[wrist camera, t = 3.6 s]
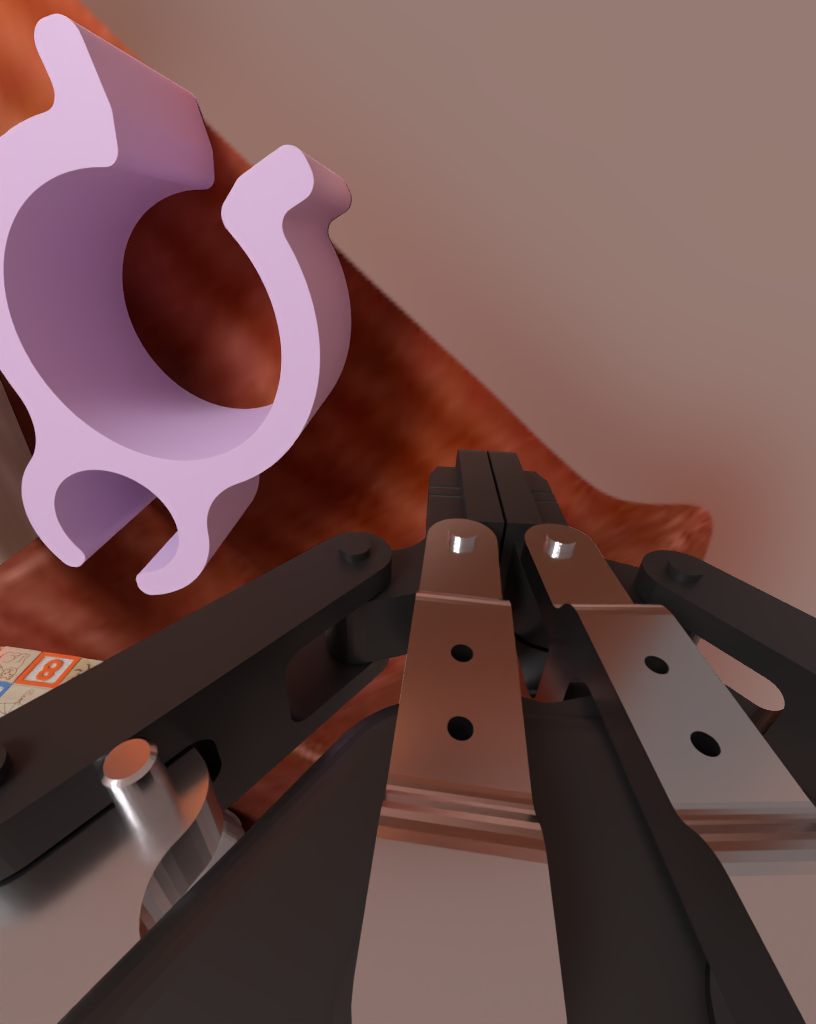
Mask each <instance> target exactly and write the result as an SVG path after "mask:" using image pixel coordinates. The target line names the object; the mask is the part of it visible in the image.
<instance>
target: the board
mask: <svg viewBox="0 0 816 1024" xmlns="http://www.w3.org/2000/svg"><path fill="white" fill-rule="evenodd" d="M31 459H32V455H31V453H30V450H29V448H28V445H27V443H26V441H25V438H24V436H23V433H22V431H21V428H20V426H19V424H18V421H17V419H16V416H15V414H14V412H13V409H12V407H11V404H10V402H9V399H8V397H7V395H6V392H5V390H4V387H3V385H2V382H1V380H0V565H1V564H2V563H3V562H5V561H6V560H7V559H9V558H10V557H11V556H13V555H14V554H16V553H17V552H18V551H20V550H21V549H22V548H24V547H25V546H26V545H28V544H29V543H31V542H32V541H33V540H35V539H36V538H37V537H39V536H38V534H37V533H36V531H35V530H34V528H33V526H32V525H31V523H30V521H29V519H28V516H27V514H26V511H25V508H24V504H23V500H22V479H23V475H24V472H25V469H26V467H27V465H28V464H29V462H30V460H31Z"/></svg>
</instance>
